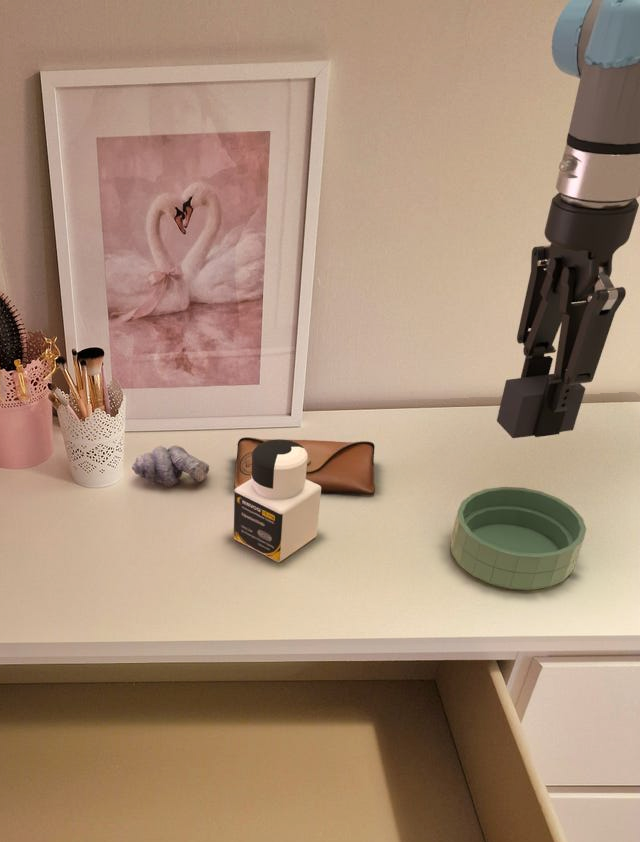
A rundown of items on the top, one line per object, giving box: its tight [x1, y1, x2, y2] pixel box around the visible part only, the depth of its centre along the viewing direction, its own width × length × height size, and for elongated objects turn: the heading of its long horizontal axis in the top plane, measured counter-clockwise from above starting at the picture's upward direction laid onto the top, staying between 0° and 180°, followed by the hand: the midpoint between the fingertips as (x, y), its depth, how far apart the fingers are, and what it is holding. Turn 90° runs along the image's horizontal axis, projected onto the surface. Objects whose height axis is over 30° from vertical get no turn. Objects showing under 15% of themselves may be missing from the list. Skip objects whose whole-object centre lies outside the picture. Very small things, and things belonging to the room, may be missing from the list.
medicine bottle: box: [233, 438, 322, 563], centre depth 99 cm, size 7×7×12 cm
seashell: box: [131, 444, 210, 488], centre depth 111 cm, size 5×5×10 cm
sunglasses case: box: [234, 436, 376, 495], centre depth 111 cm, size 18×7×7 cm
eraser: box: [496, 373, 586, 439], centre depth 95 cm, size 7×4×5 cm, turn 99°
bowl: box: [450, 486, 587, 591], centre depth 97 cm, size 13×13×5 cm
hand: (535, 423), depth 96 cm, fingers closed on eraser, 4 cm apart
